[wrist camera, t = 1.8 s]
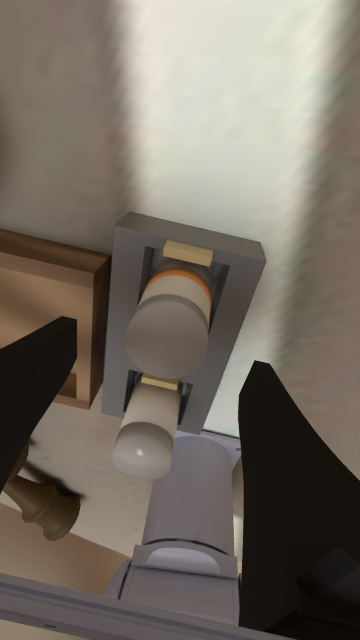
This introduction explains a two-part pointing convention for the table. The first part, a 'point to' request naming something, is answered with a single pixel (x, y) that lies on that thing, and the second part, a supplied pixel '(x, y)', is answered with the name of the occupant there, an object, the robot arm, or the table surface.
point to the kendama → (42, 502)
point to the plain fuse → (148, 431)
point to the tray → (56, 303)
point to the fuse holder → (224, 322)
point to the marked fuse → (172, 320)
